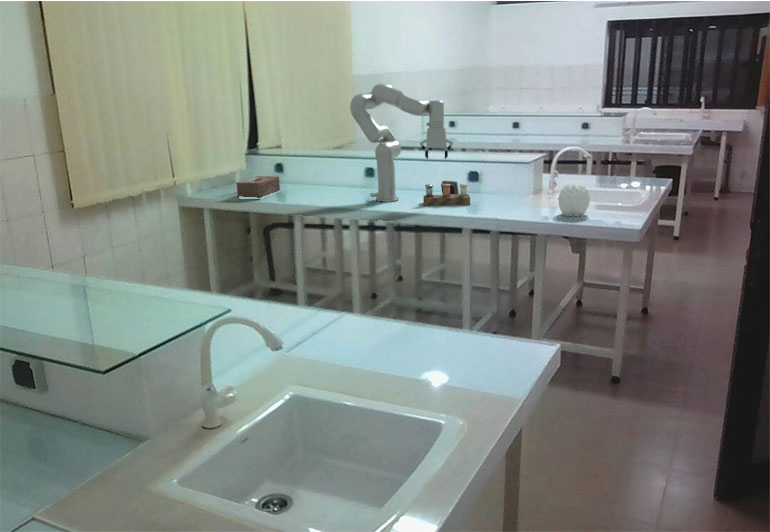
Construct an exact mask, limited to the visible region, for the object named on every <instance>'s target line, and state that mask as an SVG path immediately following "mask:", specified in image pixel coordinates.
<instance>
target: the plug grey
mask: <svg viewBox="0 0 770 532" xmlns="http://www.w3.org/2000/svg"><path fill="white" fill-rule="evenodd" d="M424 187H425V195H426V197H433V195H434V194H433V193H434V192H433V188H434V184H428V183H427V184H425V185H424Z"/></svg>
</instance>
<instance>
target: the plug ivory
mask: <svg viewBox="0 0 770 532" xmlns="http://www.w3.org/2000/svg"><path fill="white" fill-rule="evenodd" d="M468 185H469V184H468V183H459V187H460V188H459V189H460V191H459V194H460V197H465V196H467V194H468V188H467V187H468Z"/></svg>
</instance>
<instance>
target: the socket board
mask: <svg viewBox="0 0 770 532" xmlns="http://www.w3.org/2000/svg"><path fill="white" fill-rule="evenodd" d="M443 205H447V206H471V197H470V194H469V193H467V196H465V197H460V193H459V194H451V195H450V197H443V194H433V197H426V194H424V195H423V206H424V207H436V206H437V207H439V206H443Z"/></svg>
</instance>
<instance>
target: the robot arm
mask: <svg viewBox="0 0 770 532" xmlns="http://www.w3.org/2000/svg"><path fill="white" fill-rule="evenodd" d="M383 104H387V105H390V106H392V107H395V108H397V109H399V110H401V112H402V111H403V112H405V113H408V114H410V115H412V116H413V115H414V116H417V117H418V116H425V115H428V122H426V126H427V129H426V139H424V140H422V141H420V142H419V144H420V146H421V147H420V148H422V150H423V151H424V157H425V159H429V148H430V149H435V148H437V149H439V148H443V149H444V159H445V160H447V159H448V158H449V157H448V156H449V150H450V149H451V148H452V147H453V145H454V142H453V141H451V140H450V139H448V138H447V132H446V127H444V125H445V124H444V123H445V118H444V117H445V115H444V114H445V104H444V100H439V99H438V100H429V99H420V100H419V99H418V100H417V99H414V98H411V97H408V96H406V95H405V94H404V92H403V91H402V90H400V89H396V88H394V87H393V85H391V84H389V83H377V84H376V85H373V87H372V90H371V91H370V92H367V93H365V92H364V93H358V94H356V95H354V96H353V98H351V101H350V105H349V110H350V113H351V116H352V117H353V119H354V121H355V122H356V123H357V124H358V126H359V128H360V130H361V131H362V132H363V133H364V135H365V137H366V139H367V140H368V141H369V142H370V143H372V144H378V145H377V146H376V148H375V150H374V151H375V152H374V154H375V160H376V165H377V166H376V169H377V171H376V172H377V192H370V197H372V198H375V201H376V200H377V201H376V202H379V201H383V202H382V203H388V202H389V203H391V201H392V202H396V201H399V197H398V196H396V167H395V162H394V159H395V158H397V157H398V156H399V155H400V154H401V153H402V151H401V150H402V147H401V145H400V143H399V141H398V139H397V138H396V137H395V135H394V134H393V132H392V130H391V129H390V128H389V127H388V126H387V125H385V124H378V123H377V122H376V121H375V119H374V117H373V116H372V115H371V114H370V113H369V112H368V111H367V110H372V109H374V108H377V107H379V106H380V105H383ZM447 143H448V144H449V145H448V147H447ZM424 144H426V146H425V145H424Z"/></svg>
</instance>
